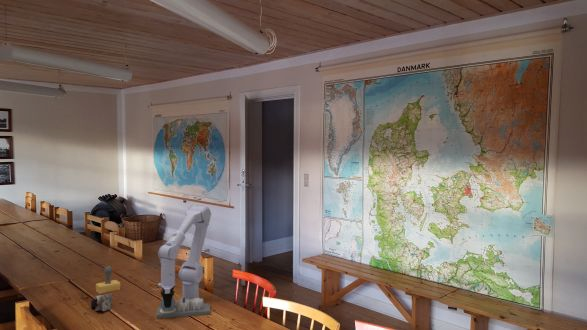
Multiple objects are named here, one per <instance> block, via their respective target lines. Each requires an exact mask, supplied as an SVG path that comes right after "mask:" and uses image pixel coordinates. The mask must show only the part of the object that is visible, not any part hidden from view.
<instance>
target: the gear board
mask: <svg viewBox="0 0 587 330" xmlns="http://www.w3.org/2000/svg"><path fill="white" fill-rule="evenodd" d="M205 315H211V307H210V303H209V302H208V303H204V298H201V297H199V298H193V299H190V300H189V299H185V298H183V299H182V298H179V299H178V300H176V305H175V308H173V309H171V310H162V309H161V306H157V310H156V316H155V317H156V319H158V320H159V319H169V318H171V319H172V318H180V317H181V318H182V317H193V316H205Z"/></svg>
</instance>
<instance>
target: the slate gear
mask: <svg viewBox="0 0 587 330" xmlns="http://www.w3.org/2000/svg"><path fill="white" fill-rule="evenodd" d="M175 306H176V299H175V298H174V297H172V301H171V306H170V308H165V306H164V300H163V298H162V299H160V307H161V309H162V310H171V309H173V308H175Z"/></svg>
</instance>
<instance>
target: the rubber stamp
mask: <svg viewBox="0 0 587 330" xmlns="http://www.w3.org/2000/svg"><path fill="white" fill-rule="evenodd" d="M112 270H113V269H112V267H111V266H105V268H104V270H103V273H104V275H105V278H106V281H102V282H99V283H96V284H95V292H96V293H98V294H99V295H100V294H101V295H102V294H108V293H111V292H115V291H119V290H121V282H120V281H118V280H117V279H114V280H110V278H111V275H112V272H113V271H112Z"/></svg>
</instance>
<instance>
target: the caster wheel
mask: <svg viewBox="0 0 587 330" xmlns="http://www.w3.org/2000/svg"><path fill="white" fill-rule="evenodd" d="M112 296H113V295H112V293H111V292H109V293H104V294H103V295H102V294H101V295H100V294H99V295H94V298H95V299H91V301H90V306H91V307H95V308H94V311H95V312H96V311H97V312H99V311H102V312H106V311H109V310H112V309H113V308H112V307H113V304H112V303H113V299H112Z"/></svg>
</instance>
